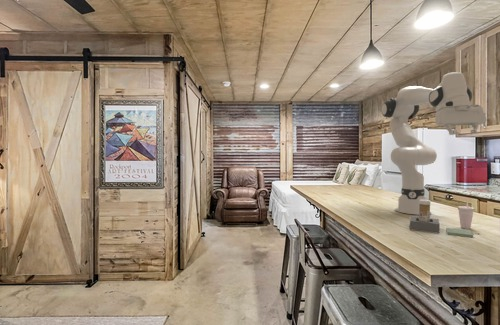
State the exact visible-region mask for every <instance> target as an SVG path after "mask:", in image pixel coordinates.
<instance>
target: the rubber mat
mask: <svg viewBox="0 0 500 325" xmlns="http://www.w3.org/2000/svg"><path fill="white" fill-rule="evenodd" d="M445 231H446V235H448V236H456V237H457V236H458V237H465V238H474V234H473V232H472V230H471V229H465V228H453V227H445Z"/></svg>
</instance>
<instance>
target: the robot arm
mask: <svg viewBox="0 0 500 325" xmlns="http://www.w3.org/2000/svg"><path fill="white" fill-rule="evenodd" d="M396 94H397V96H396V97H395V98H393V97H391V98H390V99H389V100H385V101H384V103H383V104H382V105H381V109H380V110H381V114H382V116H383V117H384V118H387V119H388V118H390V119H391V120H390V122H389V129H390V133H391V135H392V137H393V139H394V140H393V141H394V142H395V144H396V145H397V146H398V147H395V148H393V150H392V151H391V153H390V160H391V162H392V163H393V164H394V165H395V166H397V168H398V170H399V171H400V175H401V181H402V183H401V184H402V185H401V186H402V187H401V191H400V192H401V195H400V196H399V197H398V199H397V200H398V201H397V202H398V204H397V207H396V208H394V211H395V212H399V213H402V214H403V213H404V214H408V215H418V216H419V200H421V199H424V200H428V199H427V198H426V197H425V193H426V191H425V188H424V187H425V186H424V185H425V177H424V175H423V174H422V173H421V172H420V171H418V170H417V167H416V166H427V165H431V164H434V162H436V161H437V160H436V159H437V152H436V150H435V149H434V148H432V147H431V146H427V144H425V143H424V142H422V141H421V140H420V139H419V138H418V137H417V136H416V135H415V133H414V131H413V129H412V128H411V126H410V124H409V120H412V119H413V118H414V117H415V116H416V115H417V114H418V113H419V111H420V106H421V105H422V106H423V105H428V104H430V105H431V106H432V107H433V108H434V107H435V112H436V113H435V114H434V116H435V117H434V118H435V119H434V120H435V124H436V126H438V127H445V130H447V131H448V134H449V135H448V136H454V135H455V134H456V131H455V129H452V126H456V127H457V126H471V127H472V129H471V130H470V134H471V135H476V134H478V128H479V125H480V126H481V125H482V124H485V123H486V122H487V116H486V114H485V110H484V108H483V106H482V105H479V104H471V101H472V99H473V93H472V91H471V89H470V87H468V85H467V80H466V78H465V75H464V74H463V72H460V71H459V72H458V71H457V72H453V71H452V72H448V73H446V74H444V75H443V76H442V78H441V82H440V83H439V84H438V85H437V87H435V88H434V89H433V88H428V87H424V86H419V85H418V86H417V85H413V86H412V85H409V86H406V87H403V88H400V89H399V91H398V92H397V93H396ZM430 215H432V212H431V211H430Z"/></svg>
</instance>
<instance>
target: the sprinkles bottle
mask: <svg viewBox="0 0 500 325" xmlns="http://www.w3.org/2000/svg"><path fill="white" fill-rule="evenodd" d="M430 212H431V200H430V199H427V200H424V199H421V200H419V215H418V217H419V221H425V222H430V218H431V214H430Z"/></svg>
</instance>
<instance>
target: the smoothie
mask: <svg viewBox="0 0 500 325" xmlns="http://www.w3.org/2000/svg"><path fill="white" fill-rule="evenodd" d="M457 210H458V217H459V224H460V229H464V230H471V227H472V221H473V216H474V211H475V207H472V206H469V198H467V197H466V205H464V206H463V205H462V206H461V205H459V206H457Z"/></svg>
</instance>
